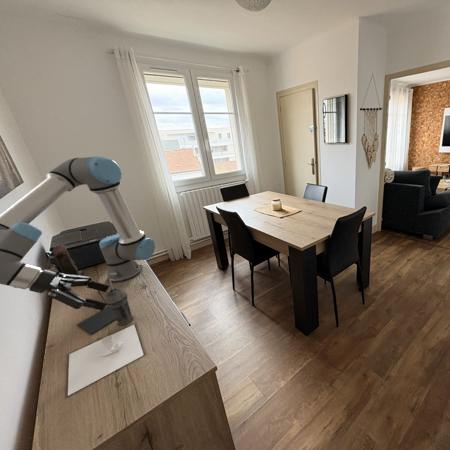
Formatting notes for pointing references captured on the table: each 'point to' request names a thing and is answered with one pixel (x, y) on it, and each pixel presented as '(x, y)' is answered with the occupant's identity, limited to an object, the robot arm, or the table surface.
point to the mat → (98, 321)
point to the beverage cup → (118, 304)
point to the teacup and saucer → (102, 358)
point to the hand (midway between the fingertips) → (106, 297)
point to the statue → (65, 261)
